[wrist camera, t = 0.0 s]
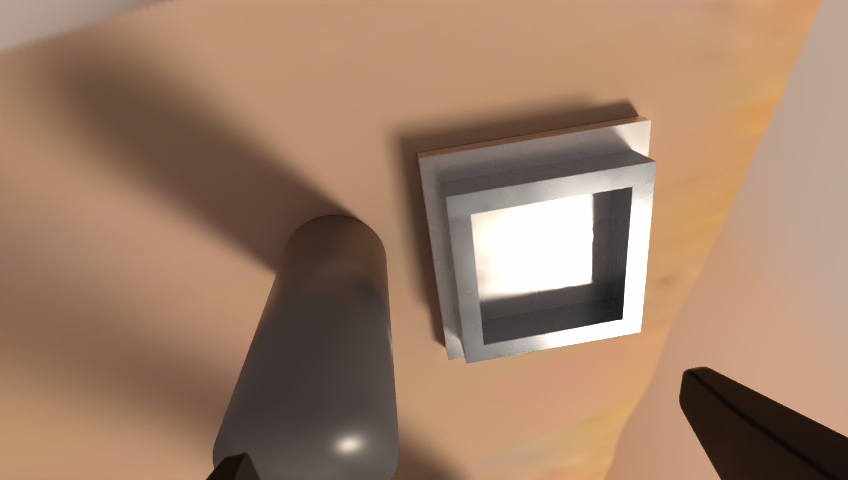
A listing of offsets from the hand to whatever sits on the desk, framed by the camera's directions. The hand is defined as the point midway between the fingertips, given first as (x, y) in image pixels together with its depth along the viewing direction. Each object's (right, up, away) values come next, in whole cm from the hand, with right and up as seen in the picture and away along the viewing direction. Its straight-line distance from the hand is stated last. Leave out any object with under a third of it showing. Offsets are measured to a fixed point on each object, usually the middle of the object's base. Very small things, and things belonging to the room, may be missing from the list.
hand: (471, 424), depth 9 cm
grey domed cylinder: (-6, +3, +15) cm, 16 cm away
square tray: (+5, +4, +15) cm, 16 cm away
